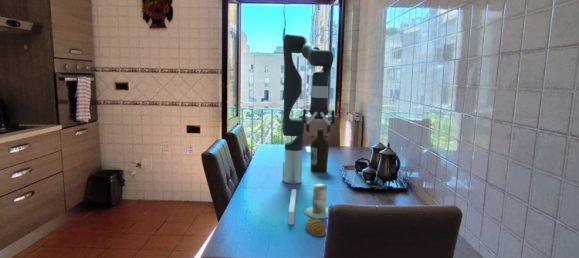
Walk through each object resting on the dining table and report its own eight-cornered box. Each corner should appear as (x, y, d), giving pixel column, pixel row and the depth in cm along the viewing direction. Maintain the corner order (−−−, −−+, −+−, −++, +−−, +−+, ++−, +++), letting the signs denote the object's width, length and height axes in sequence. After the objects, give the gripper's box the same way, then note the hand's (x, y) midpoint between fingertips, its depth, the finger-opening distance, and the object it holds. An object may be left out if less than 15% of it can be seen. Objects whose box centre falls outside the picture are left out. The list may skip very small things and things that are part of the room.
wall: (291, 200, 161) (291, 189, 160) (295, 200, 161) (296, 189, 160) (288, 224, 135) (288, 211, 135) (293, 224, 135) (293, 212, 135)
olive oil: (321, 167, 217) (323, 126, 213) (331, 172, 208) (333, 129, 204) (306, 169, 212) (307, 127, 208) (315, 174, 203) (317, 130, 199)
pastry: (330, 236, 127) (330, 226, 126) (312, 238, 125) (312, 228, 124) (320, 225, 136) (320, 215, 135) (303, 227, 134) (303, 217, 133)
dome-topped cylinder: (309, 211, 148) (310, 185, 146) (318, 208, 151) (319, 182, 150) (319, 215, 144) (320, 188, 142) (328, 212, 147) (329, 186, 146)
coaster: (298, 211, 148) (298, 210, 148) (318, 205, 156) (318, 204, 156) (319, 221, 139) (319, 220, 139) (340, 213, 147) (340, 212, 147)
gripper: (335, 96, 162) (333, 132, 164) (303, 95, 162) (302, 130, 165) (336, 97, 154) (334, 134, 157) (303, 96, 155) (301, 133, 157)
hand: (317, 132), depth 161 cm, fingers open, 8 cm apart
